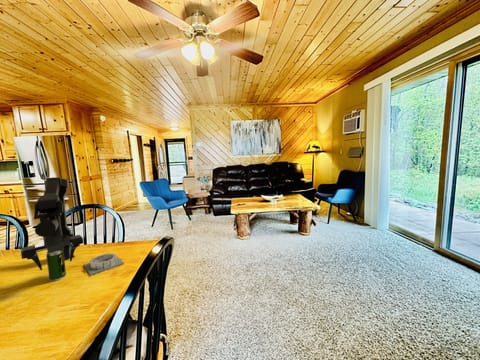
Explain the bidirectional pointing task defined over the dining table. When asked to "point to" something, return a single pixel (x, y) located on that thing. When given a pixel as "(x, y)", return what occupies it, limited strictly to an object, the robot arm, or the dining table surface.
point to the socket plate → (93, 272)
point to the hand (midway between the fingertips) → (56, 265)
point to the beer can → (56, 265)
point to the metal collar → (105, 264)
